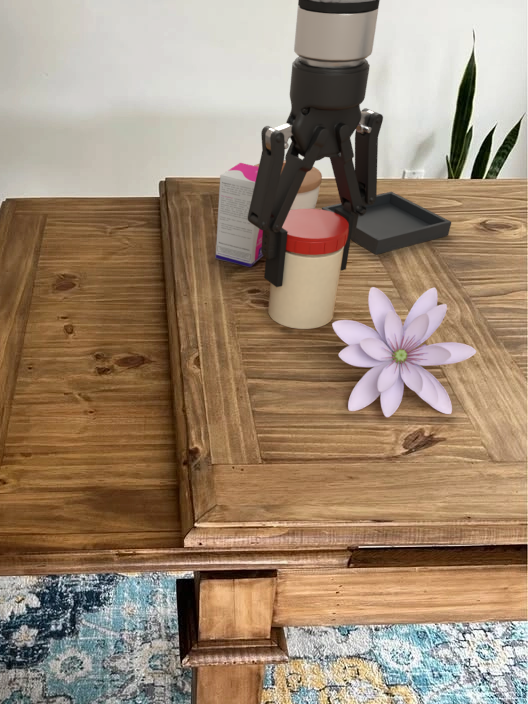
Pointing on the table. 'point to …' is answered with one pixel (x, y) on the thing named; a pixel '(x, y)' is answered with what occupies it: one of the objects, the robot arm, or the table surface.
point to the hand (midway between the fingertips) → (305, 273)
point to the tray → (396, 224)
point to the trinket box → (307, 190)
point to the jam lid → (315, 231)
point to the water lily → (399, 353)
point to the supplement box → (237, 217)
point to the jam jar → (306, 290)
